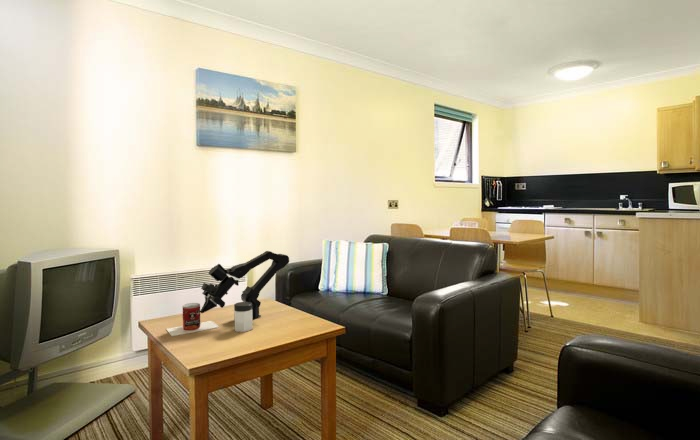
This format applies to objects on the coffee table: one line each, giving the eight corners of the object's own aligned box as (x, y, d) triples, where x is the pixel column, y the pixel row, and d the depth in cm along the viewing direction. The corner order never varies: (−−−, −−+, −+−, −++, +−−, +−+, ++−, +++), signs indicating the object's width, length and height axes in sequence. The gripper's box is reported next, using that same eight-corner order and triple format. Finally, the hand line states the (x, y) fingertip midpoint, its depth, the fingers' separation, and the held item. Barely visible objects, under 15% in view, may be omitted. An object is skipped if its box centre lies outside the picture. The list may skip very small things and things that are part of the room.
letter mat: (211, 321, 193) (211, 320, 193) (219, 327, 183) (219, 326, 183) (166, 329, 180) (166, 328, 180) (171, 336, 170) (171, 335, 170)
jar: (253, 331, 177) (253, 305, 177) (235, 333, 175) (234, 307, 174) (251, 325, 186) (251, 300, 185) (234, 327, 183) (233, 302, 183)
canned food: (183, 331, 176) (183, 307, 175) (182, 326, 183) (181, 303, 183) (201, 329, 179) (201, 305, 179) (199, 324, 186) (199, 302, 186)
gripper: (206, 274, 194) (183, 298, 187) (218, 279, 179) (193, 306, 172) (222, 287, 199) (200, 312, 192) (234, 294, 184) (211, 321, 177)
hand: (200, 312), depth 183 cm, fingers closed
